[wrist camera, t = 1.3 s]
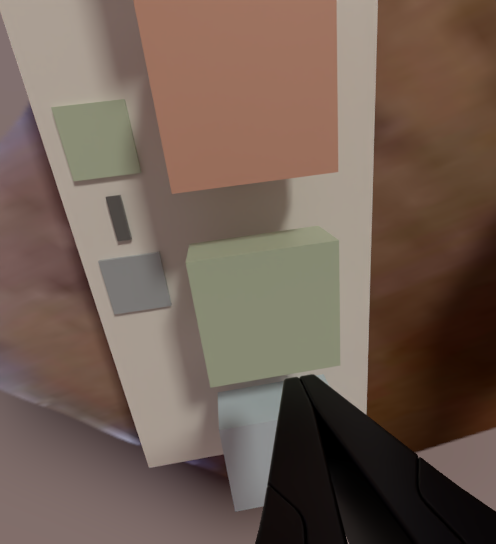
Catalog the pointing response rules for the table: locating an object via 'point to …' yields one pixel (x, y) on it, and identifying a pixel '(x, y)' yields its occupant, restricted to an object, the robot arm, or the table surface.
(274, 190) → the keypad base
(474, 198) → the table surface
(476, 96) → the table surface
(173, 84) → the key terracotta
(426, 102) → the table surface
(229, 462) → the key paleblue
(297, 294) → the key sage
